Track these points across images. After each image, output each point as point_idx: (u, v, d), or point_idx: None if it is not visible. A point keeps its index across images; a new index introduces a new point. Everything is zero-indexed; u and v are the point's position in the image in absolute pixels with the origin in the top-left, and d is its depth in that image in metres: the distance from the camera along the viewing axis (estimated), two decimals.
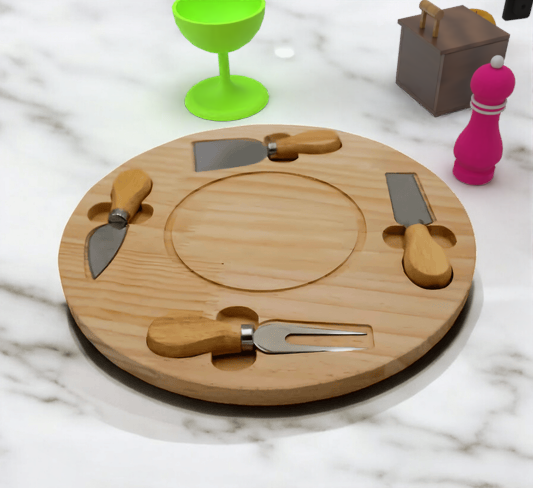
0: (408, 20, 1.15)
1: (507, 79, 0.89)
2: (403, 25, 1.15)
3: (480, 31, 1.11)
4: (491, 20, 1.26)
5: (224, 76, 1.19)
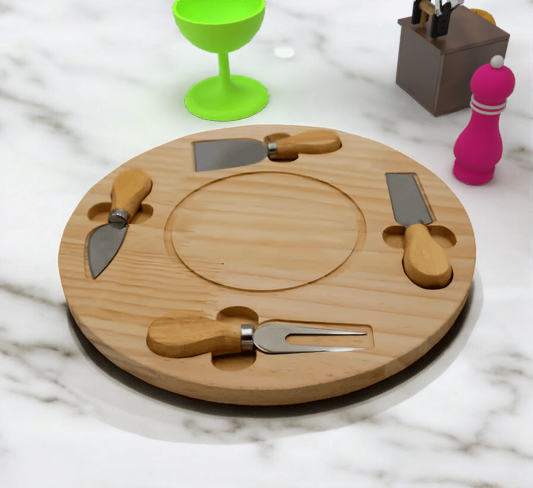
0: (408, 20, 1.15)
1: (507, 79, 0.89)
2: (403, 25, 1.15)
3: (480, 31, 1.11)
4: (491, 20, 1.26)
5: (224, 76, 1.19)
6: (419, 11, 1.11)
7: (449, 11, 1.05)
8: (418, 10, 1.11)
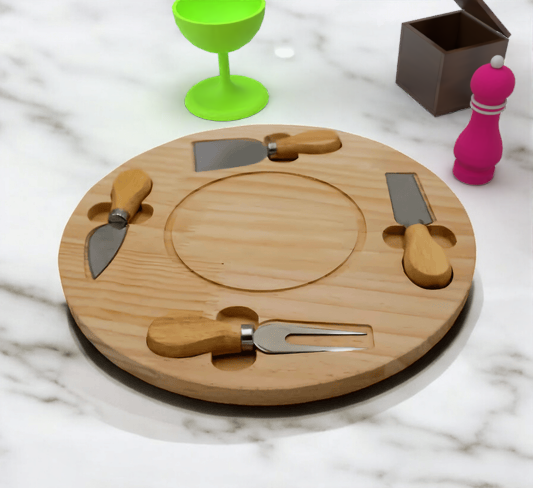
0: None
1: (507, 79, 0.89)
2: None
3: None
4: None
5: (224, 76, 1.19)
6: None
7: None
8: None
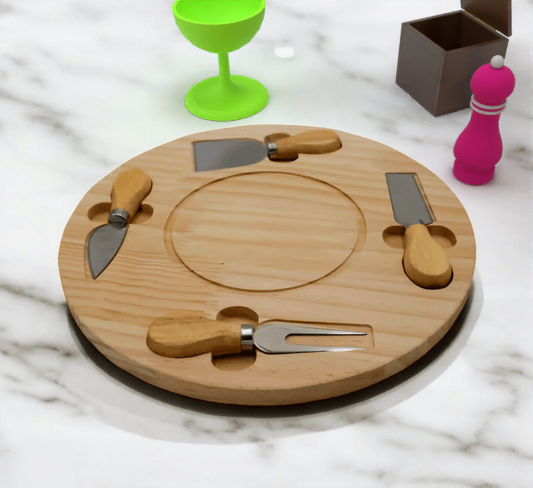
0: None
1: (507, 79, 0.89)
2: None
3: None
4: None
5: (224, 76, 1.19)
6: None
7: None
8: None
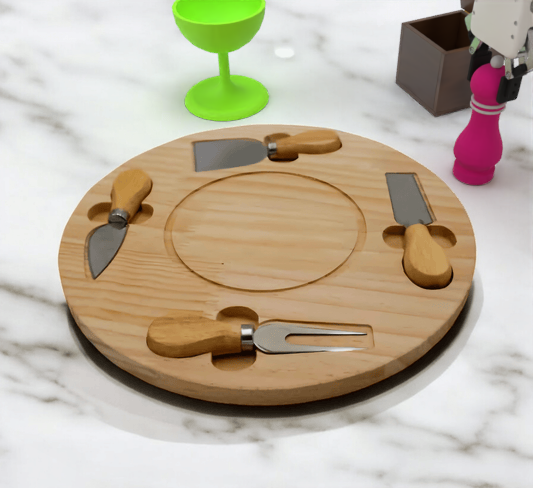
0: None
1: None
2: None
3: None
4: None
5: (224, 76, 1.19)
6: (477, 67, 0.93)
7: (523, 74, 0.86)
8: (476, 65, 0.93)
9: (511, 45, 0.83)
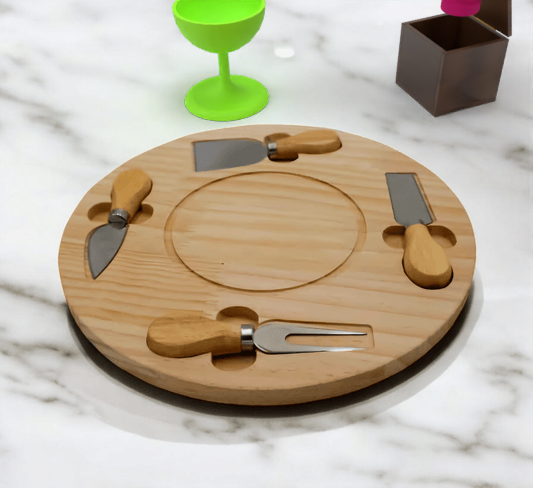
0: None
1: None
2: None
3: None
4: None
5: (224, 76, 1.19)
6: None
7: None
8: None
9: None
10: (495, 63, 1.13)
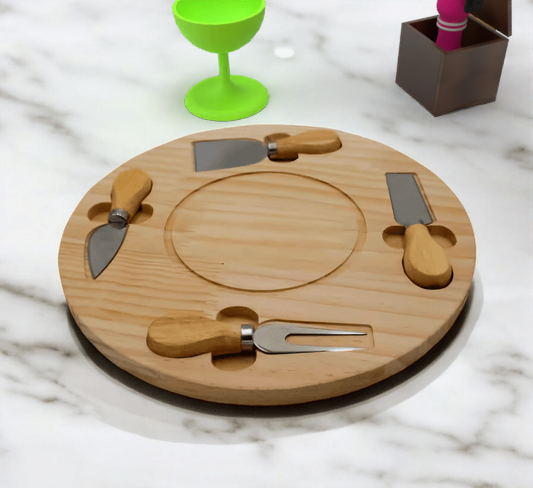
0: None
1: None
2: None
3: None
4: None
5: (224, 76, 1.19)
6: None
7: None
8: None
9: None
10: (495, 63, 1.13)
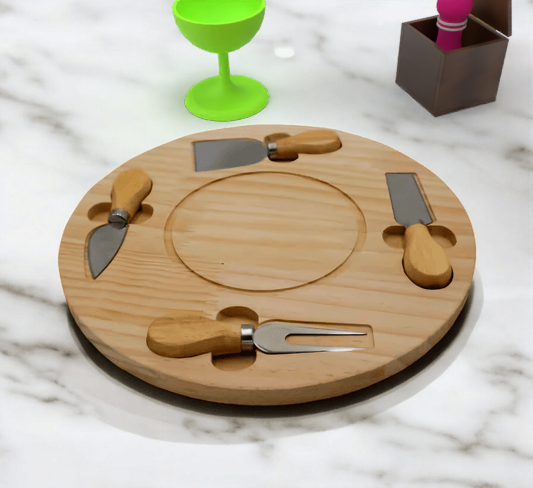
0: None
1: None
2: None
3: None
4: None
5: (224, 76, 1.19)
6: None
7: None
8: None
9: None
10: (495, 63, 1.13)
